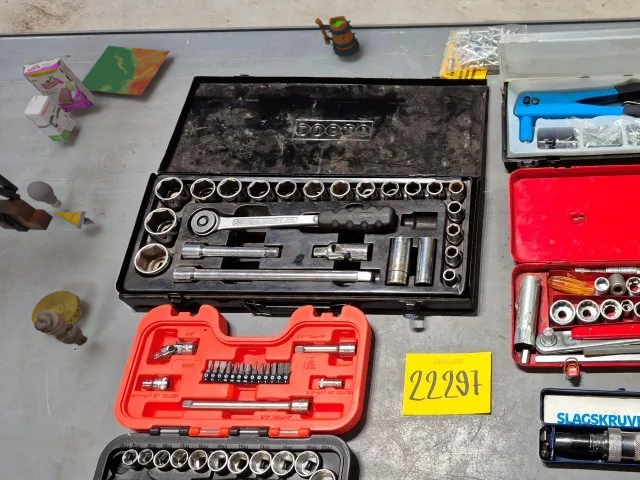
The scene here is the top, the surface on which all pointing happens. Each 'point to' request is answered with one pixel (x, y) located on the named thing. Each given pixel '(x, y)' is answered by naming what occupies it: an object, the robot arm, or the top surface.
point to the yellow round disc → (60, 306)
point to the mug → (340, 36)
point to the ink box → (49, 118)
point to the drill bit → (75, 218)
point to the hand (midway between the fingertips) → (27, 222)
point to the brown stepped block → (25, 214)
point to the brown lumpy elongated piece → (59, 328)
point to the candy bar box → (59, 84)
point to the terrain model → (124, 70)
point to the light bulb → (43, 193)
